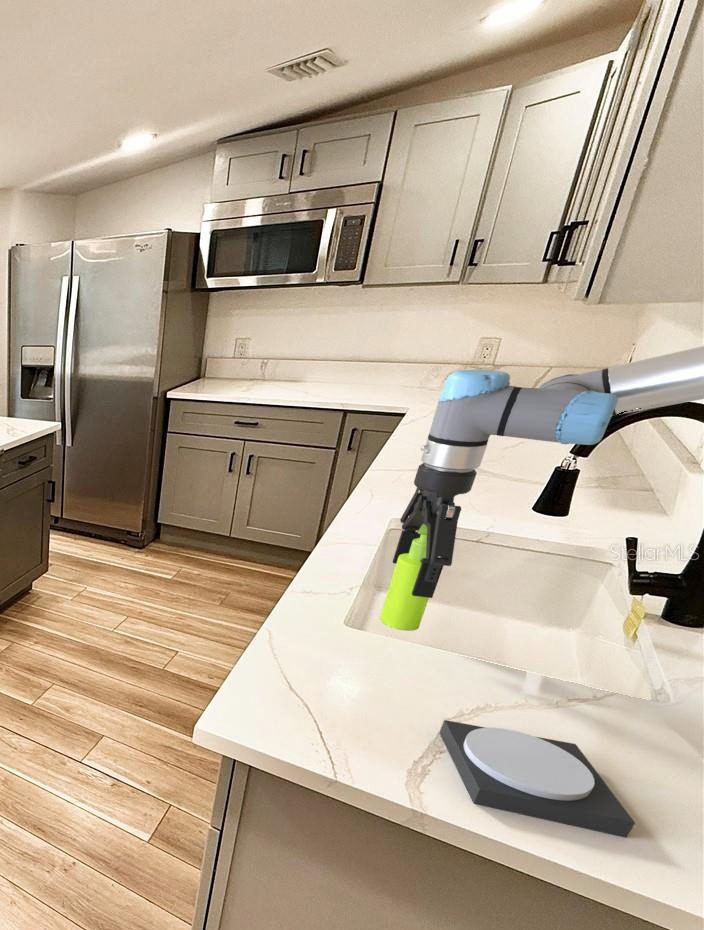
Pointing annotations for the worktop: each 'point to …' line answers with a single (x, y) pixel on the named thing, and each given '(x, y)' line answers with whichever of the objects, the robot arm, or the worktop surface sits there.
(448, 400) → the robot arm
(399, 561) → the soap dispenser
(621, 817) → the scale
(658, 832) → the worktop surface
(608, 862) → the worktop surface
